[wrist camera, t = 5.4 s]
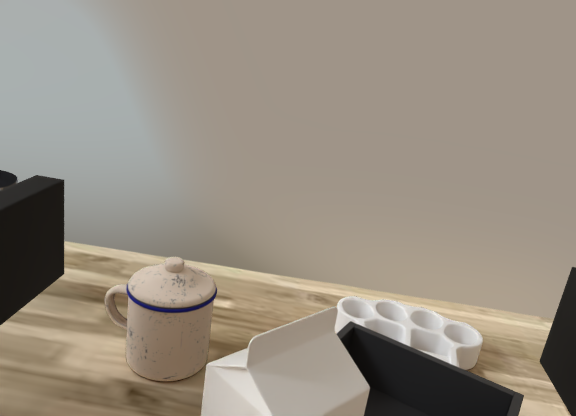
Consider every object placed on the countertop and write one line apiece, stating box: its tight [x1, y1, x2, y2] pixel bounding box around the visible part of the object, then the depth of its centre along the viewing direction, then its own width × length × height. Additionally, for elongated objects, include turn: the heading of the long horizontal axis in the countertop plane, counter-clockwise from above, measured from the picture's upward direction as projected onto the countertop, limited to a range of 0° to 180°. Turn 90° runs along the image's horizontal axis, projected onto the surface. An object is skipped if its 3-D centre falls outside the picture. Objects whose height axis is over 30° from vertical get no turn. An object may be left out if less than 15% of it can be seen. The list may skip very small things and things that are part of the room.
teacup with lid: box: [105, 257, 217, 381], centre depth 54 cm, size 12×9×12 cm
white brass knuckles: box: [335, 296, 483, 370], centre depth 64 cm, size 3×18×15 cm
